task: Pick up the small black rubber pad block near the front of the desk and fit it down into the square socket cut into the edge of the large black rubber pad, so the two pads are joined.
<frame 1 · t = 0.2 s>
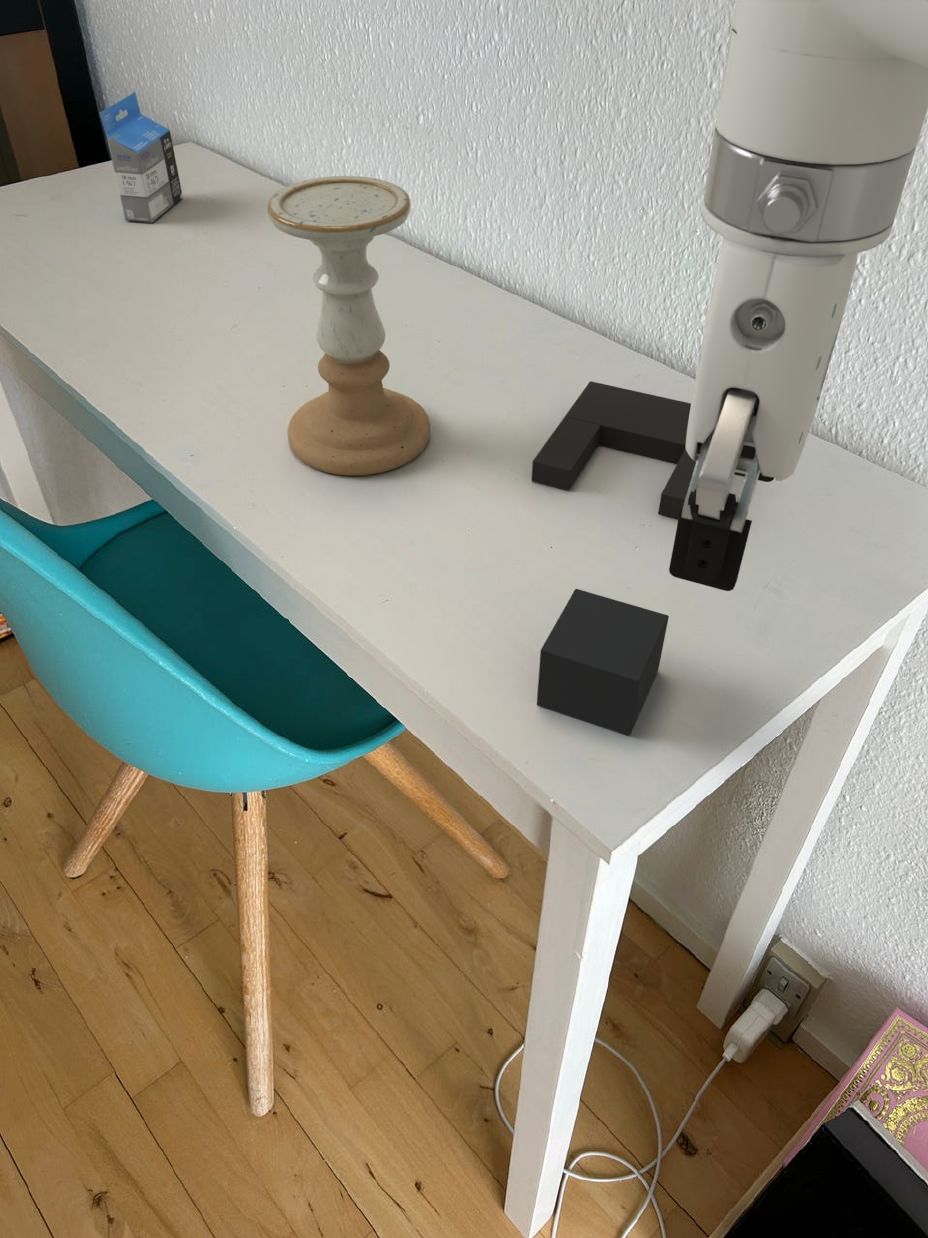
hand: (724, 523, 51), 15 cm above the table, tool pointing down, fingers open, 9 cm apart
connector pad: (598, 687, 63), on the table
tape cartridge: (155, 211, 123), on the table
base pad: (639, 457, 82), on the table
candle holder: (360, 438, 85), on the table
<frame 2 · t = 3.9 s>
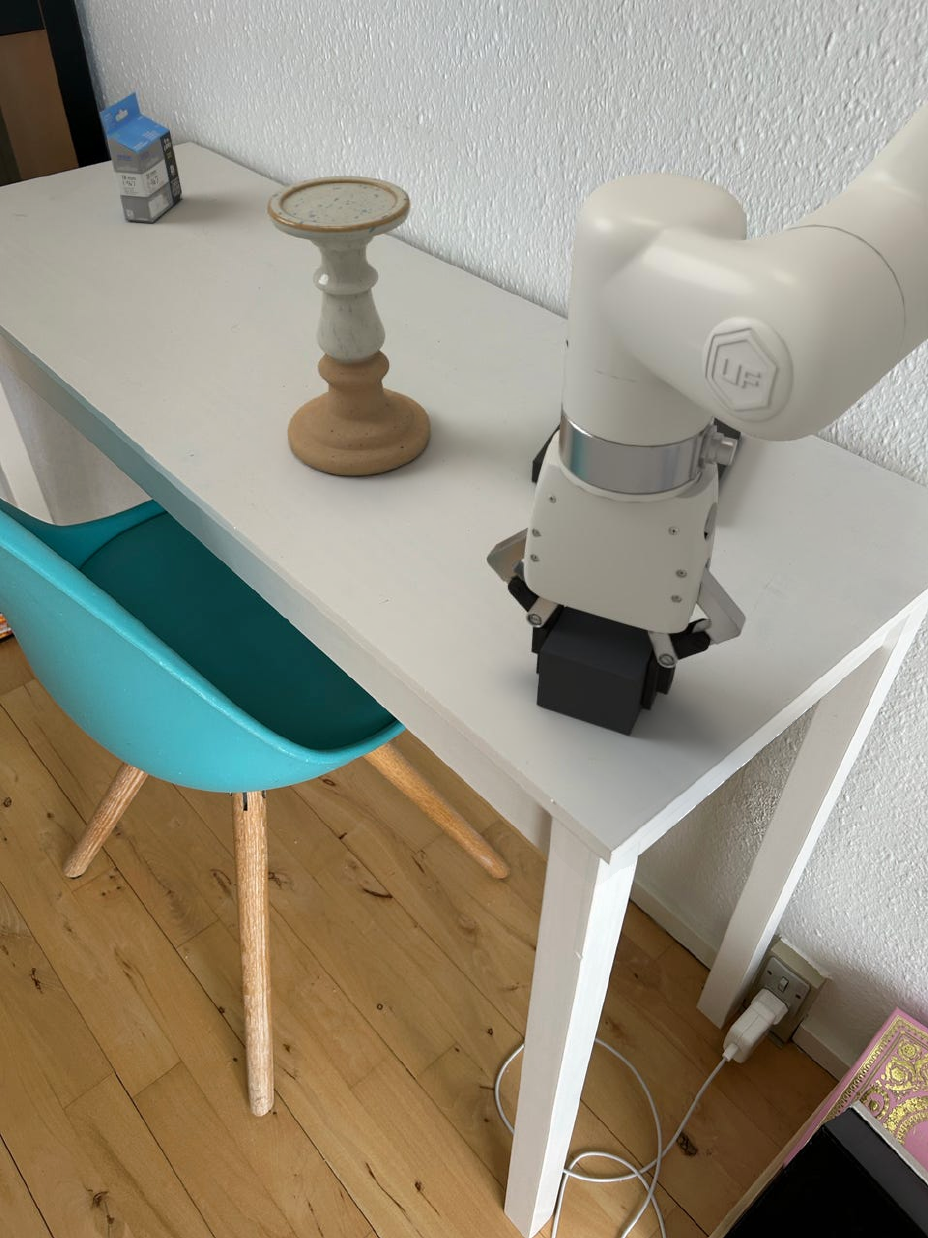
hand: (599, 675, 62), 1 cm above the table, tool pointing down, fingers closed on connector pad, 6 cm apart
connector pad: (598, 687, 63), on the table, touching gripper
everything else where it was.
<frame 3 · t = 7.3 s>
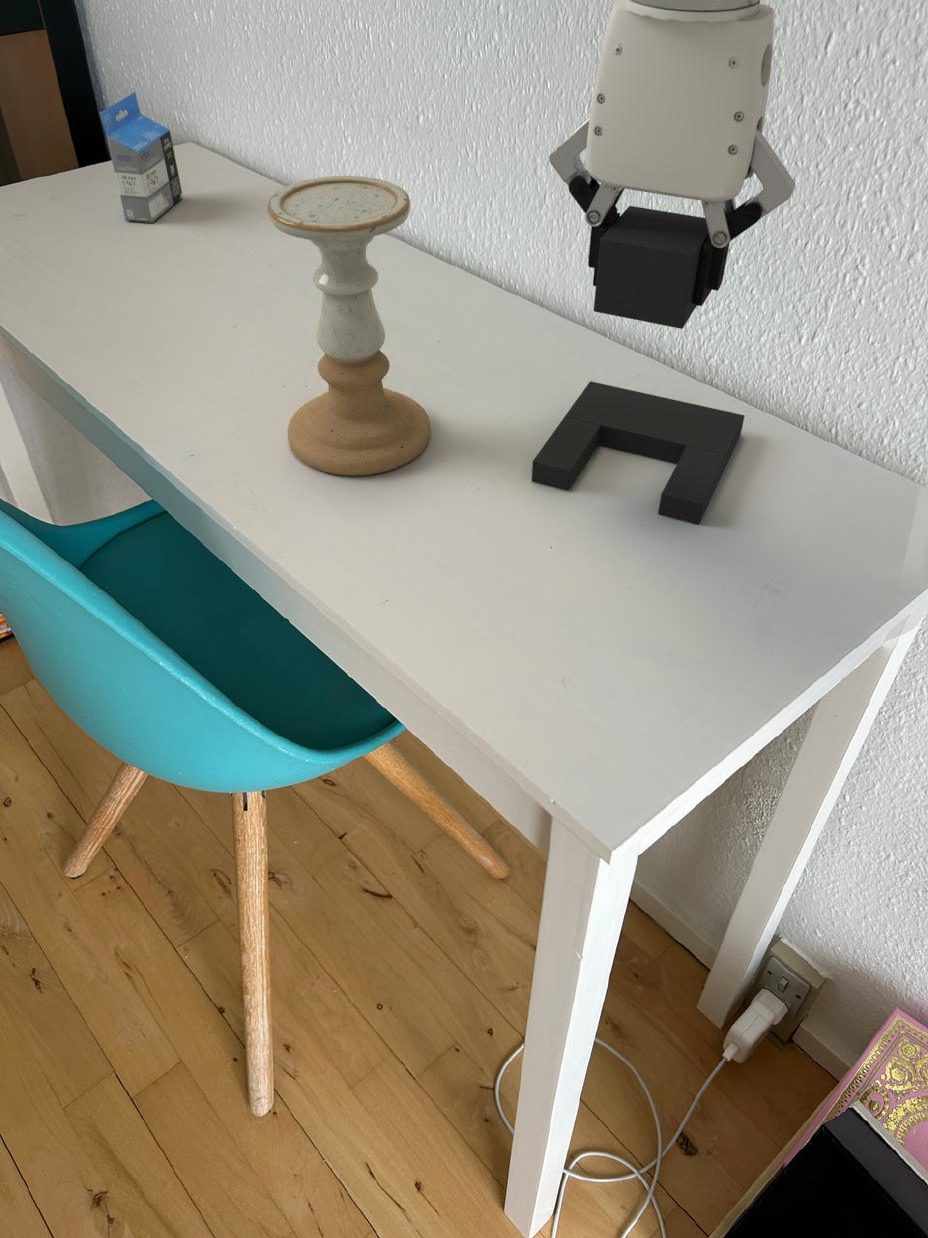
hand: (652, 285, 66), 18 cm above the table, tool pointing down, fingers closed on connector pad, 6 cm apart
connector pad: (650, 301, 67), point 16 cm above the table, touching gripper
everything else where it was.
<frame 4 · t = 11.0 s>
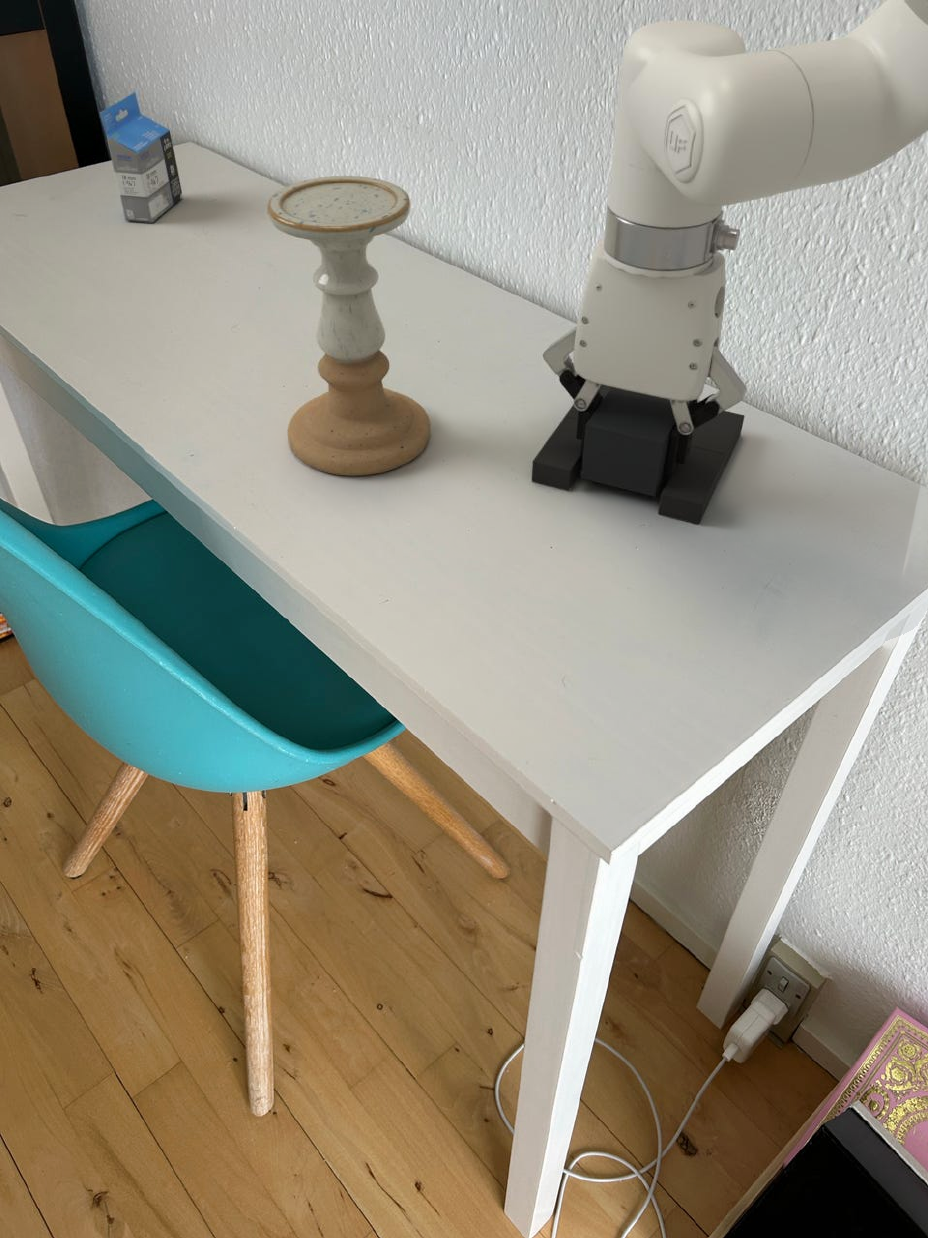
hand: (630, 455, 79), 2 cm above the table, tool pointing down, fingers closed on connector pad, 6 cm apart
connector pad: (629, 467, 79), point 1 cm above the table, touching gripper
everything else where it was.
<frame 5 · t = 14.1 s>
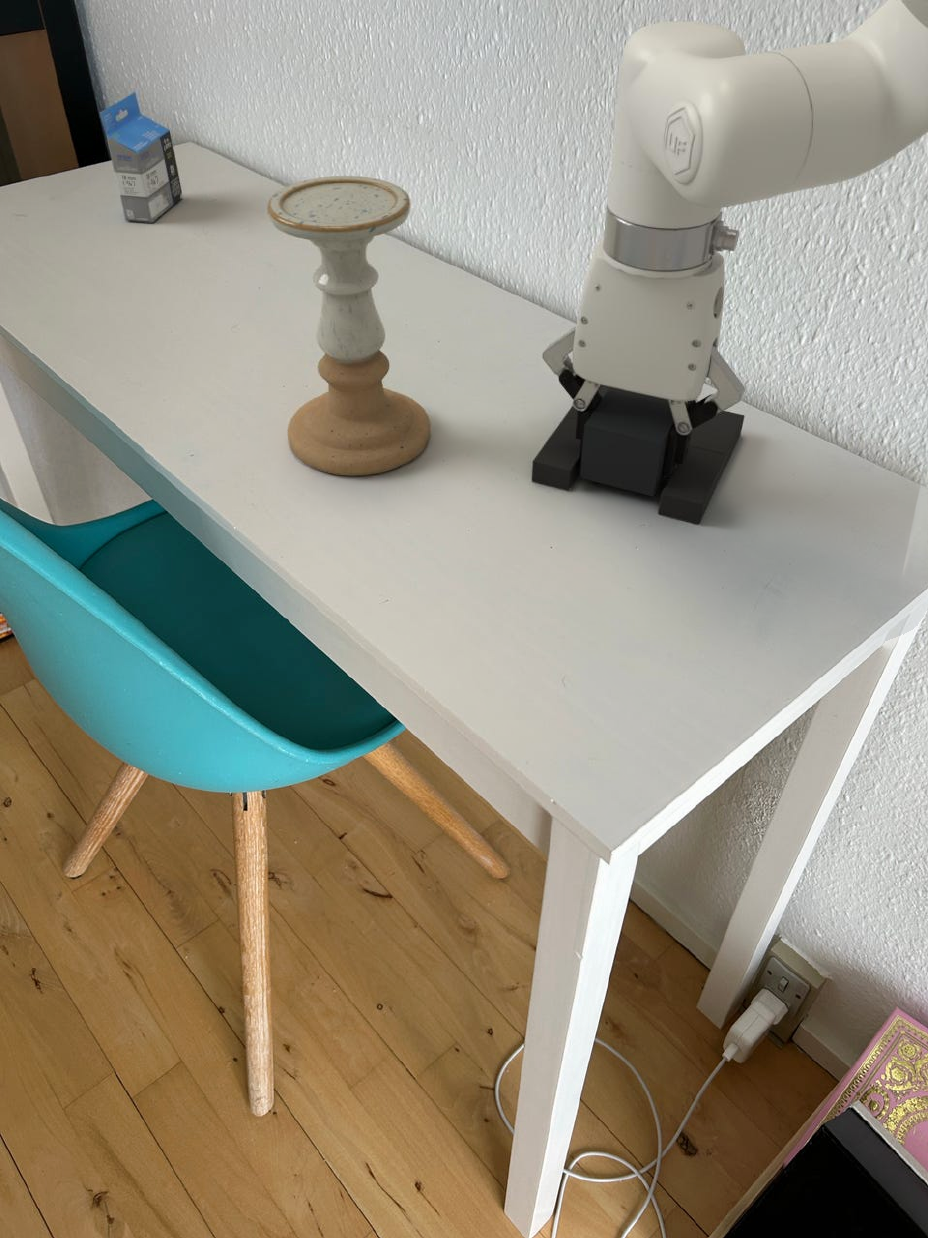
hand: (629, 455, 79), 2 cm above the table, tool pointing down, fingers closed on connector pad, 6 cm apart
connector pad: (628, 467, 79), point 1 cm above the table, touching gripper
everything else where it was.
when the fingers open (3 cm above the table, at t = 16.8 s): connector pad drops 2 cm, on the table.
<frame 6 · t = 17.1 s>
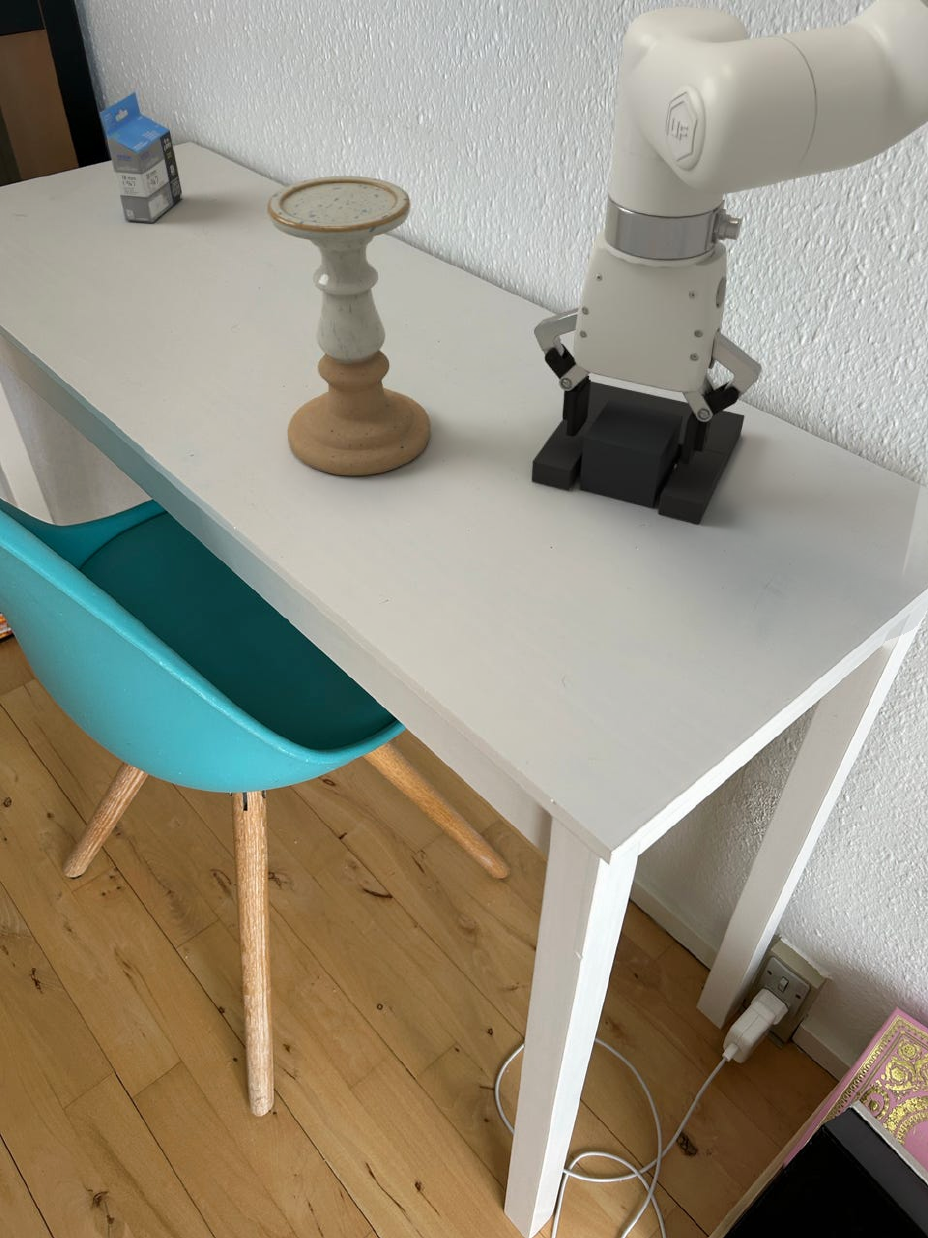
hand: (632, 441, 78), 4 cm above the table, tool pointing down, fingers open, 9 cm apart
connector pad: (627, 478, 80), on the table
everything else where it was.
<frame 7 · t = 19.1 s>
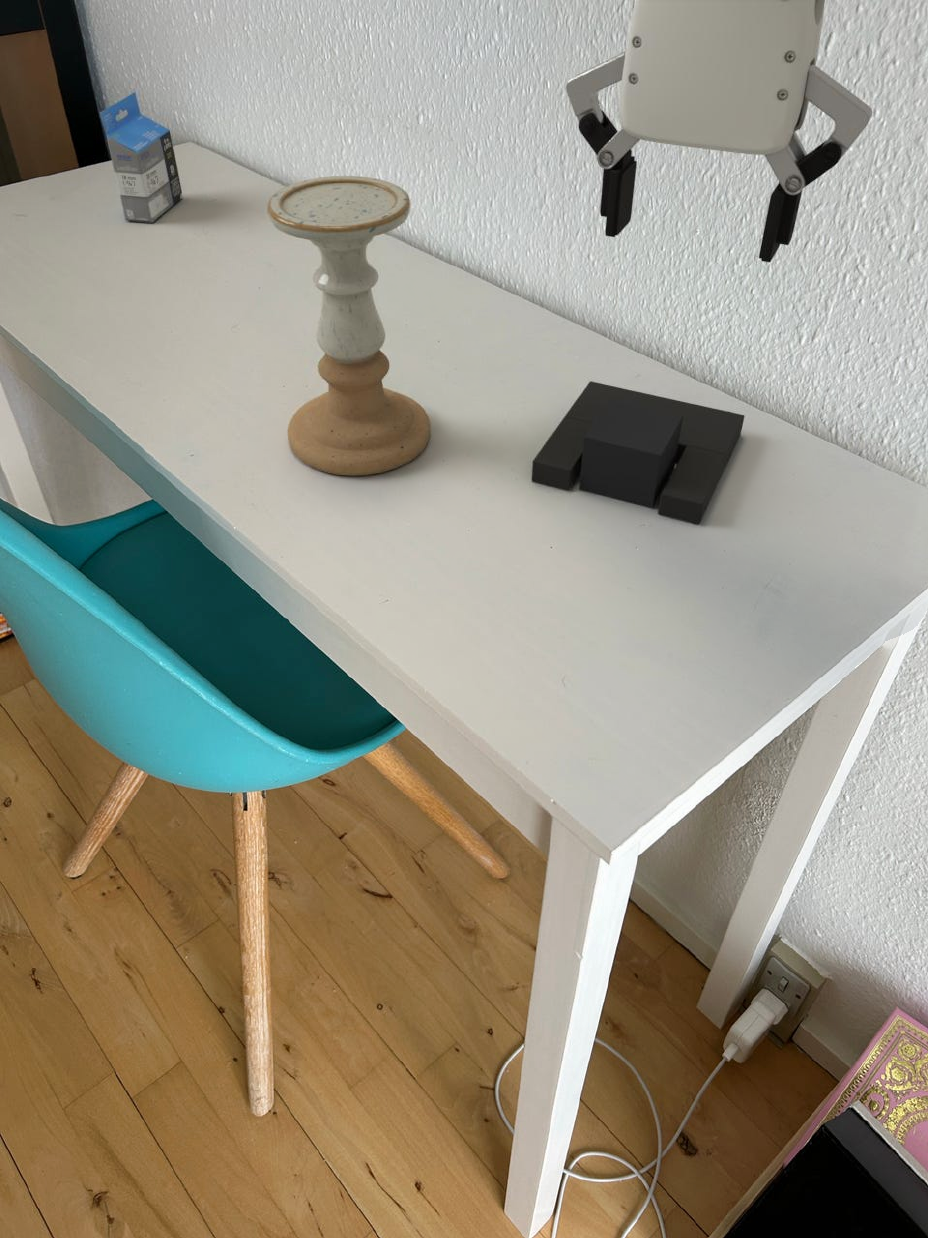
hand: (691, 241, 61), 22 cm above the table, tool pointing down, fingers open, 9 cm apart
nothing on the table moved.
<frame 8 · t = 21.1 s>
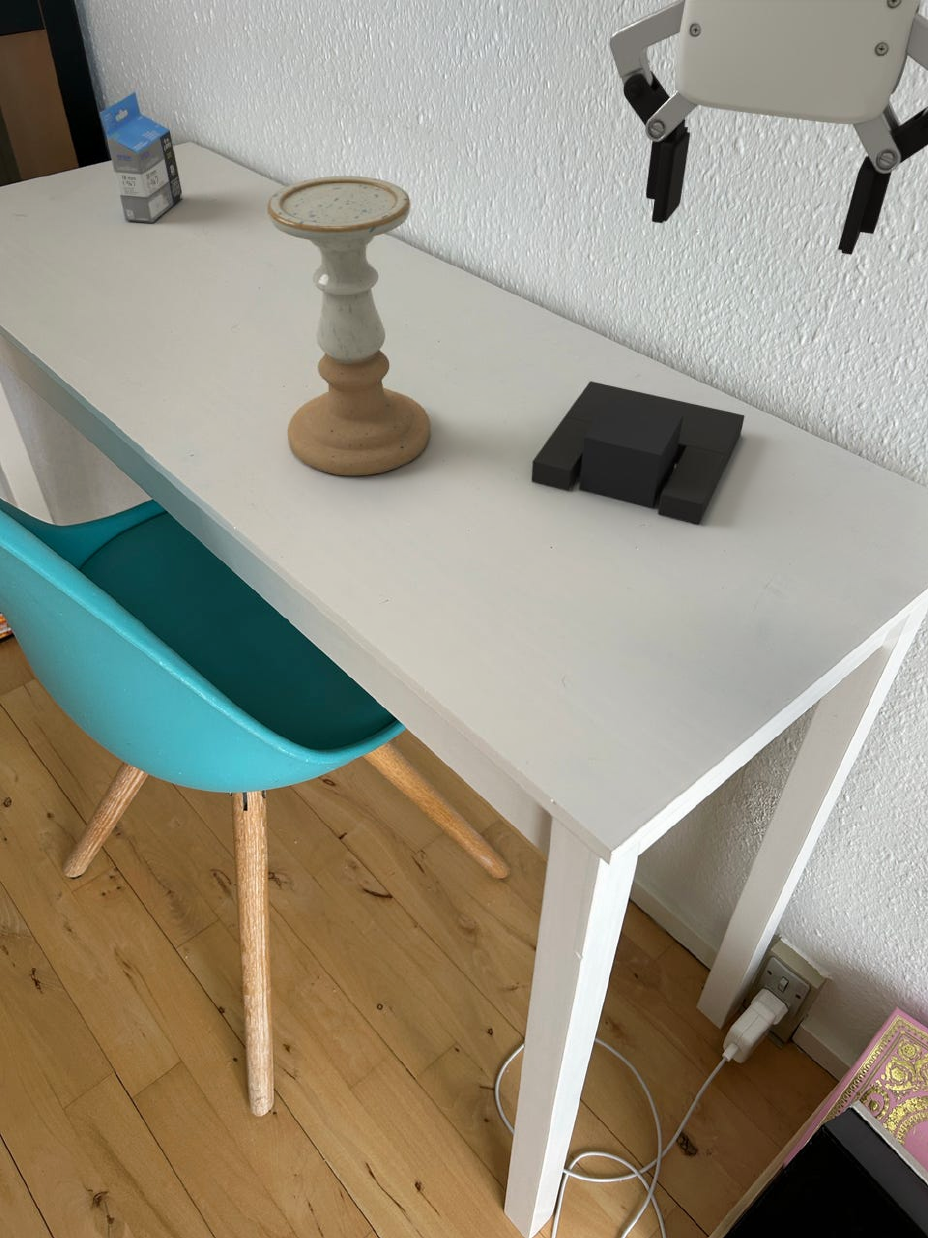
hand: (754, 228, 51), 26 cm above the table, tool pointing down, fingers open, 9 cm apart
nothing on the table moved.
at the end: connector pad 0.0 cm from the target spot on the base pad, point 0.0 cm above the base pad's base; connector pad tilted 0°; the gripper is holding nothing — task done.
